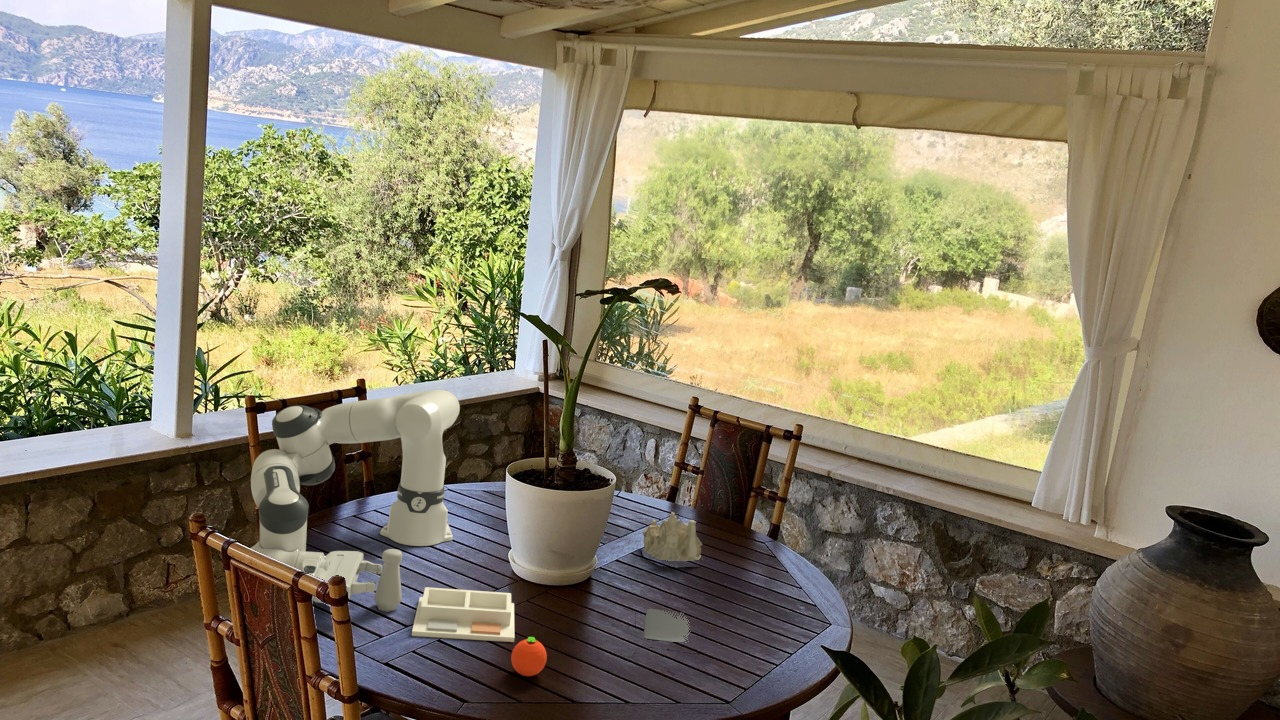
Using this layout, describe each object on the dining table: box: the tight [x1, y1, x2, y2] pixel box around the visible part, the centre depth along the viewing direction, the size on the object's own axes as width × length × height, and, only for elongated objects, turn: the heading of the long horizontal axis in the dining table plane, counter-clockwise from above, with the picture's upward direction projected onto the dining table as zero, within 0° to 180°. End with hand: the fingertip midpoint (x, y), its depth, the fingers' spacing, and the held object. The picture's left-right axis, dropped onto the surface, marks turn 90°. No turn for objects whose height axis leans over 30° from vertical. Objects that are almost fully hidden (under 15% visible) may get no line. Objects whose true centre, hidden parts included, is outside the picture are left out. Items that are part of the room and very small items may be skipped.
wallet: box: [644, 608, 691, 643], centre depth 207 cm, size 20×2×15 cm
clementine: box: [510, 636, 548, 677], centre depth 179 cm, size 8×7×7 cm
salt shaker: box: [374, 548, 403, 613], centre depth 198 cm, size 6×6×13 cm
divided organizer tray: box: [411, 586, 515, 643], centre depth 197 cm, size 17×21×4 cm
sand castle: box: [642, 511, 703, 561], centre depth 252 cm, size 16×16×15 cm
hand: (378, 577), depth 197 cm, fingers open, 8 cm apart
